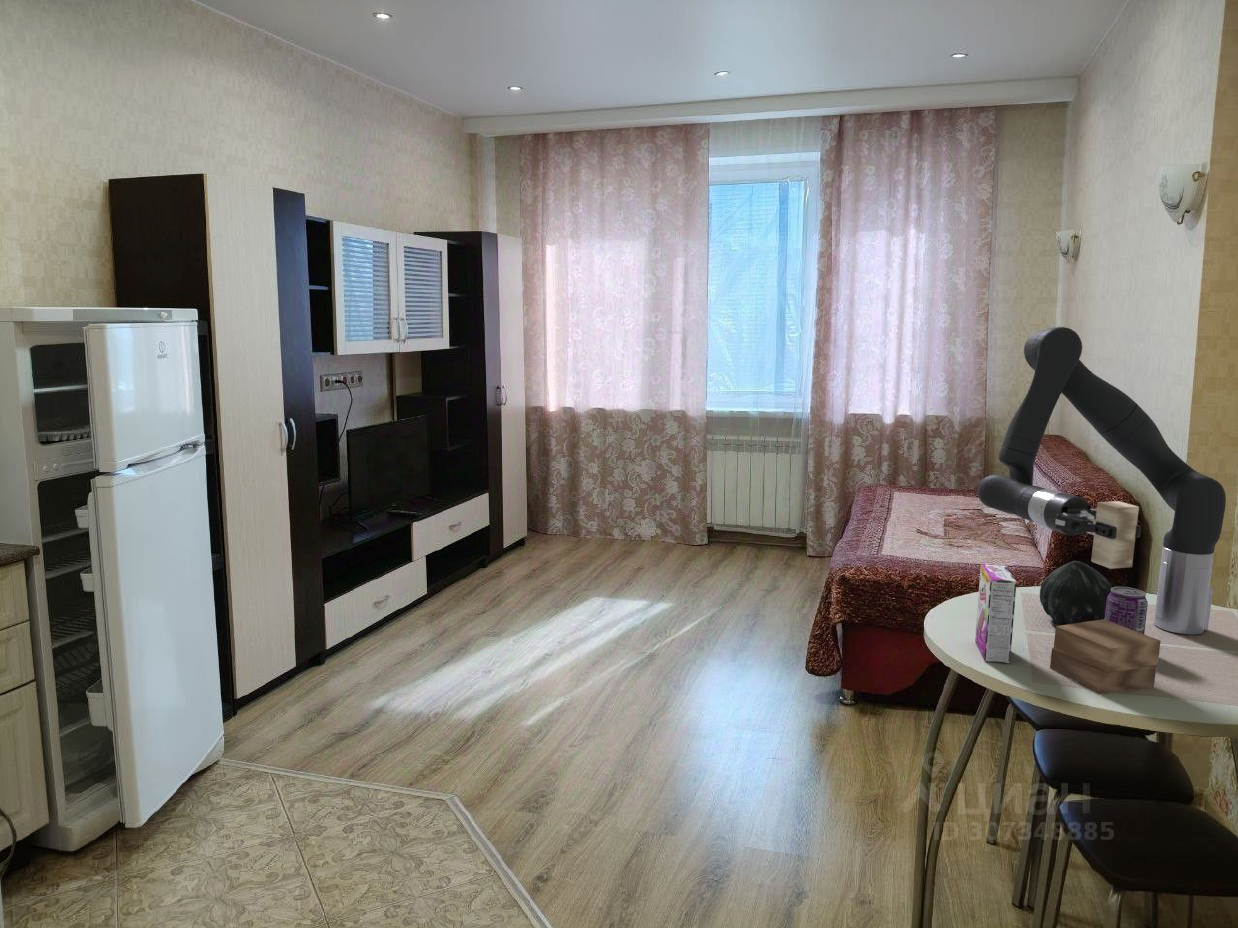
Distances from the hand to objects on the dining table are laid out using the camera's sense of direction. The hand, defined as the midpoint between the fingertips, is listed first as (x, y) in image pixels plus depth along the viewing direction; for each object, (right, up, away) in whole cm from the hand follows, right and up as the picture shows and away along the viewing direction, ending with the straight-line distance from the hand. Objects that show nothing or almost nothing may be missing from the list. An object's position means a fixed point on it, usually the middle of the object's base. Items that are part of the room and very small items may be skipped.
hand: (1126, 532), depth 164 cm
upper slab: (-1, -23, +6) cm, 24 cm away
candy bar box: (-16, -25, +18) cm, 35 cm away
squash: (+9, -22, +36) cm, 44 cm away
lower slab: (-1, -28, +7) cm, 28 cm away
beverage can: (+11, -25, +21) cm, 35 cm away
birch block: (-1, -6, +4) cm, 7 cm away
